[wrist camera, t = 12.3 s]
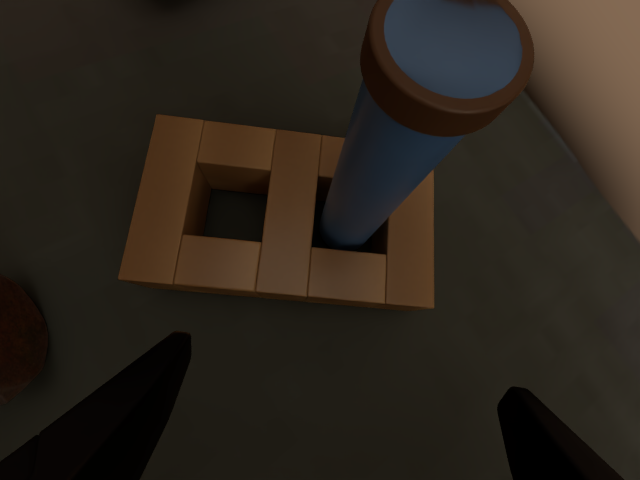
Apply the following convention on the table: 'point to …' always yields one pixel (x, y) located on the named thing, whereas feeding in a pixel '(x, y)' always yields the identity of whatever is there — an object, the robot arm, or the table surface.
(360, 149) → the peg
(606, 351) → the table surface
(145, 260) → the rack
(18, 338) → the bolt
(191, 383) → the table surface
